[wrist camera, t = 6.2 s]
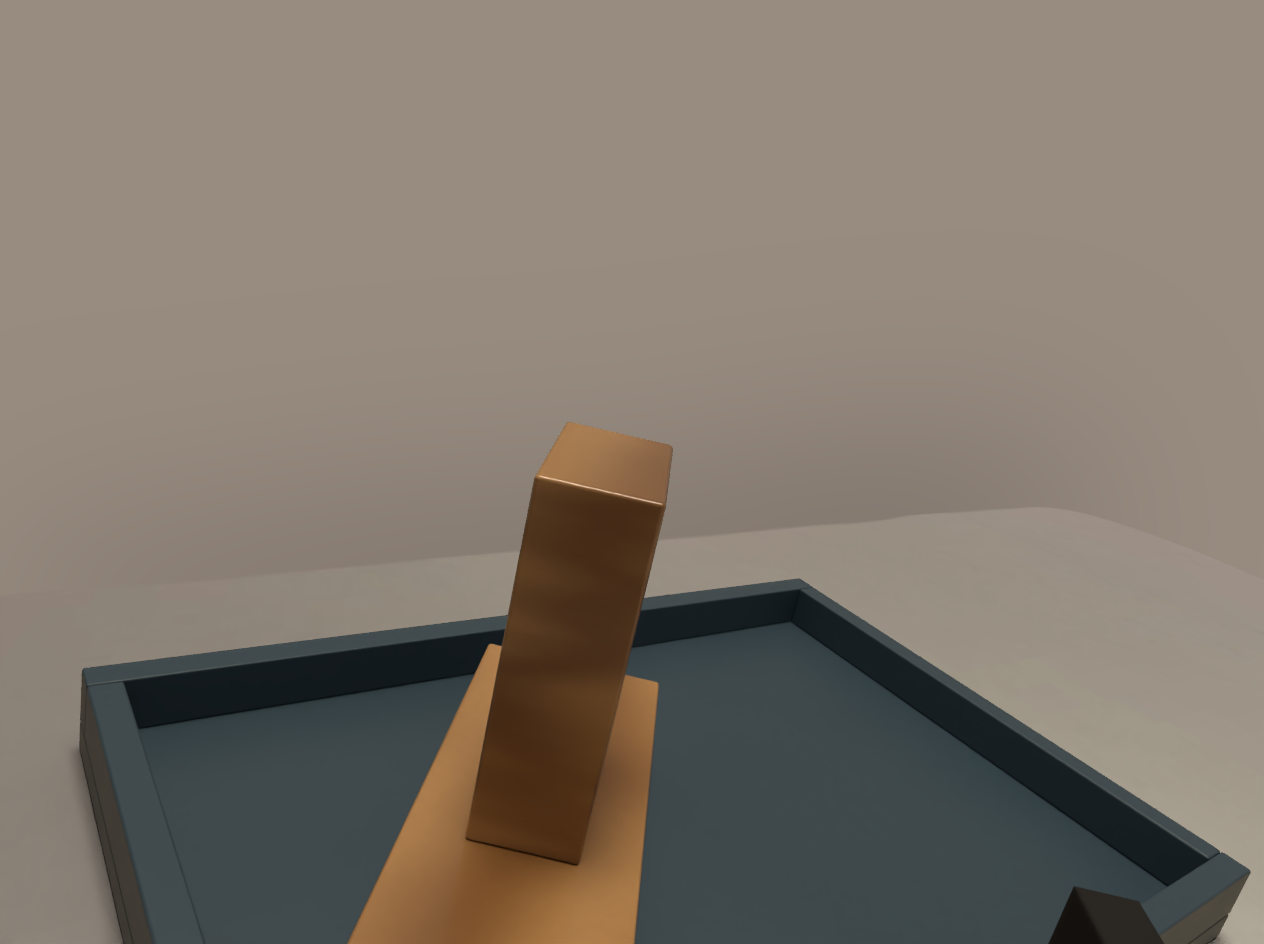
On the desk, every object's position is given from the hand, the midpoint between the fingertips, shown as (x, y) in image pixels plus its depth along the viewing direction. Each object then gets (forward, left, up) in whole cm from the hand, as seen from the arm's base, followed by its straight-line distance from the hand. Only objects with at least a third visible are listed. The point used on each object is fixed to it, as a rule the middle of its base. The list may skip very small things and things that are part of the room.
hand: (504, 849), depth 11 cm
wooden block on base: (-6, +5, -8) cm, 11 cm away
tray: (-6, +10, -9) cm, 15 cm away
